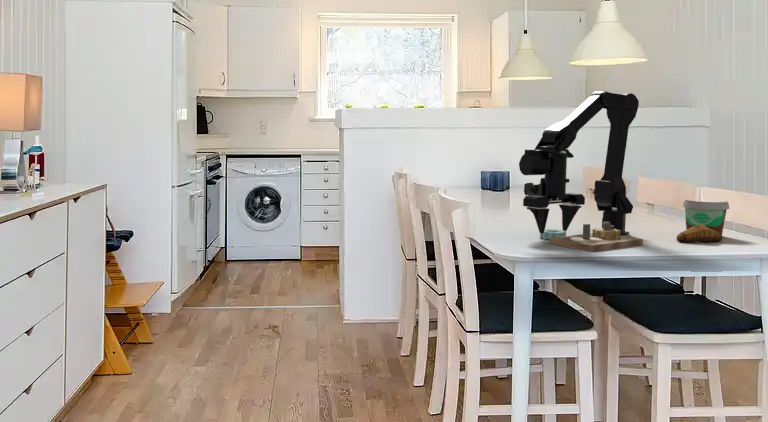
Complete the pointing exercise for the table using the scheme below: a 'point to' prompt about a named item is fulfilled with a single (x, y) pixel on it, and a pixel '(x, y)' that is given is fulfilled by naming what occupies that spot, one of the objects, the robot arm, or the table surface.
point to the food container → (706, 214)
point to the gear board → (597, 239)
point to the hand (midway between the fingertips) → (553, 231)
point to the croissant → (699, 235)
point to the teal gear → (552, 233)
